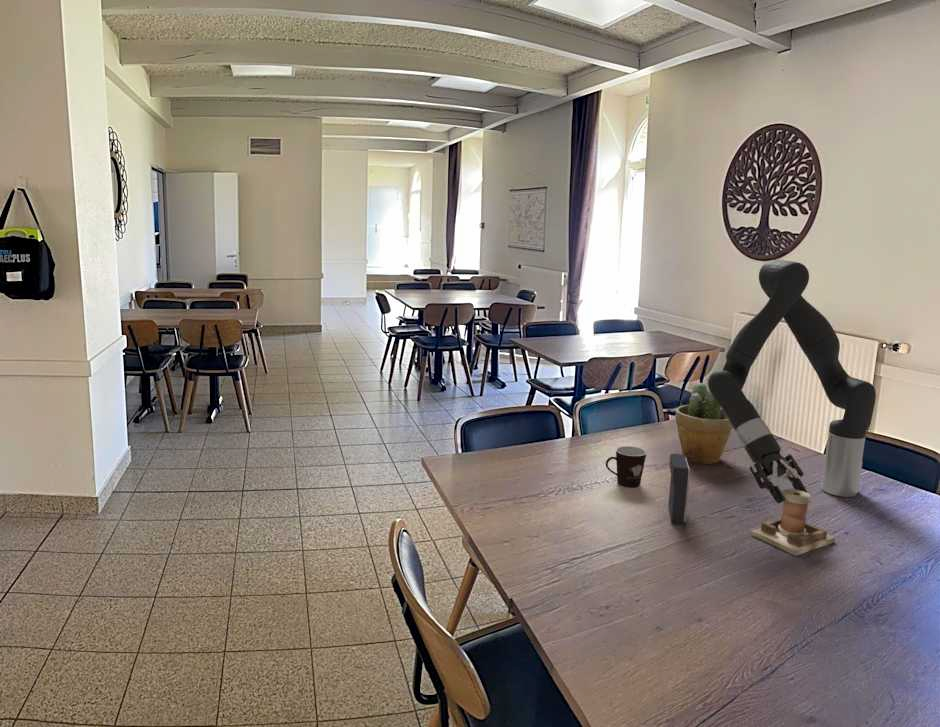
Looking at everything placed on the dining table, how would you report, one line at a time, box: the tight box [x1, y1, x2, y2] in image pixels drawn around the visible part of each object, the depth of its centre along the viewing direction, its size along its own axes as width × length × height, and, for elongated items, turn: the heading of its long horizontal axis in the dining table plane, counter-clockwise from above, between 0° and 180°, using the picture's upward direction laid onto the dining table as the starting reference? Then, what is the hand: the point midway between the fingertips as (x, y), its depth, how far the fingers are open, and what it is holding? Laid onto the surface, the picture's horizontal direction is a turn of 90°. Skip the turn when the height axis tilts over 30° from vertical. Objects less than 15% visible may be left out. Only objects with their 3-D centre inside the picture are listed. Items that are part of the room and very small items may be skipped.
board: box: [751, 517, 836, 557], centre depth 169 cm, size 15×12×3 cm
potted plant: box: [674, 382, 734, 465], centre depth 222 cm, size 18×19×25 cm
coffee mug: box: [605, 445, 647, 489], centre depth 200 cm, size 12×9×10 cm
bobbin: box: [778, 488, 812, 537], centre depth 168 cm, size 6×6×10 cm
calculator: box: [667, 453, 691, 525], centre depth 179 cm, size 11×4×15 cm, turn 168°
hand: (793, 498), depth 168 cm, fingers open, 8 cm apart
